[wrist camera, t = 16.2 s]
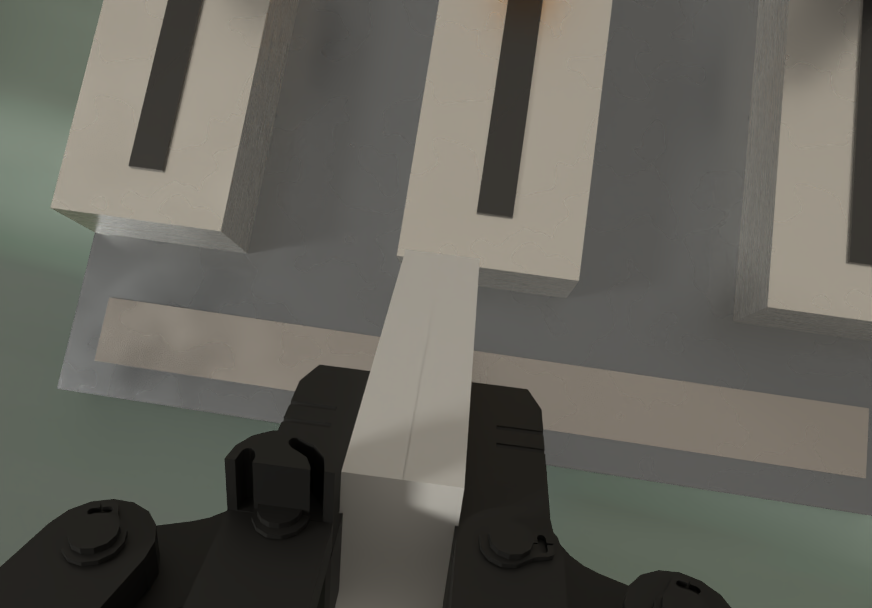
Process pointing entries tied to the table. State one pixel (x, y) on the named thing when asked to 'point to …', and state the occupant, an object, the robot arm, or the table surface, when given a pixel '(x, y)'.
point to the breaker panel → (497, 216)
